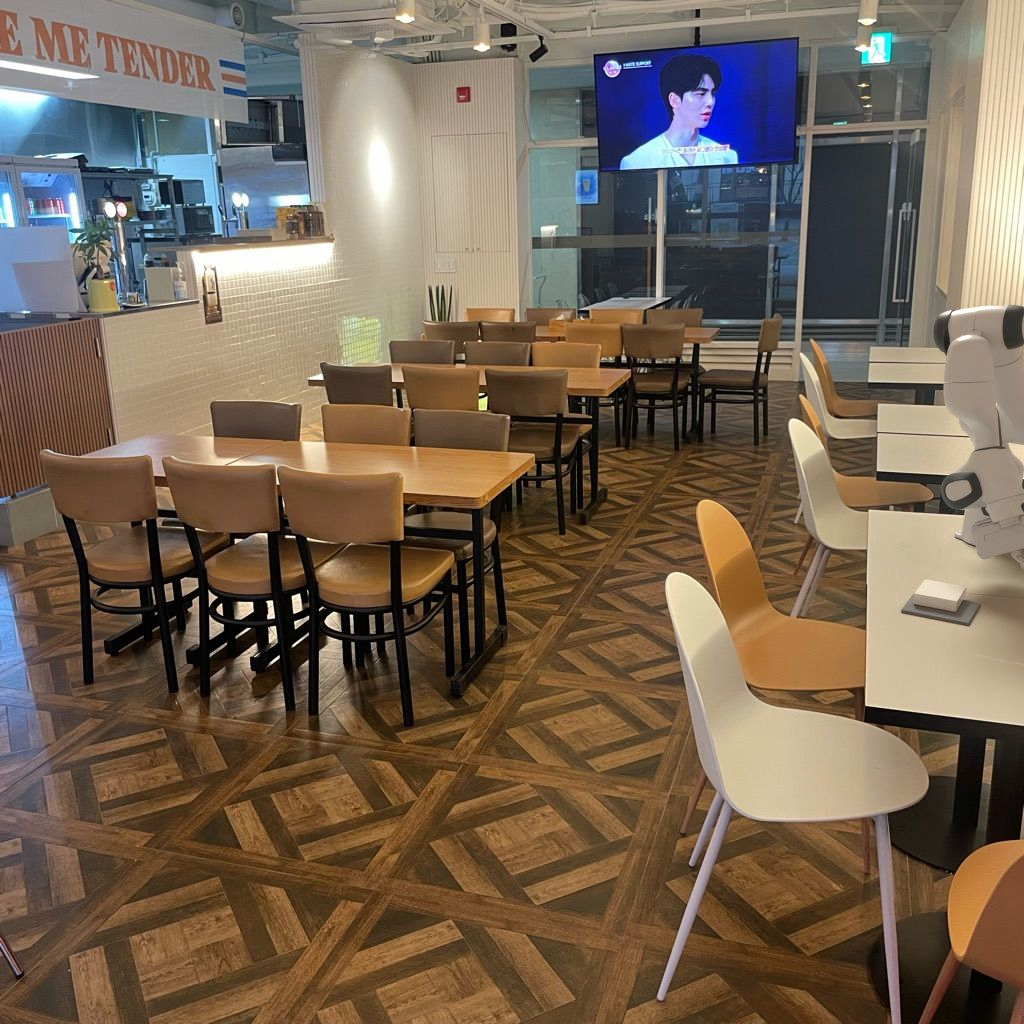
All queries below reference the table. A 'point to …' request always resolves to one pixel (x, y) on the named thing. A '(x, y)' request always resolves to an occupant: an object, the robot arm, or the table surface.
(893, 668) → the table surface
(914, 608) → the charcoal mat
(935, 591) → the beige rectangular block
